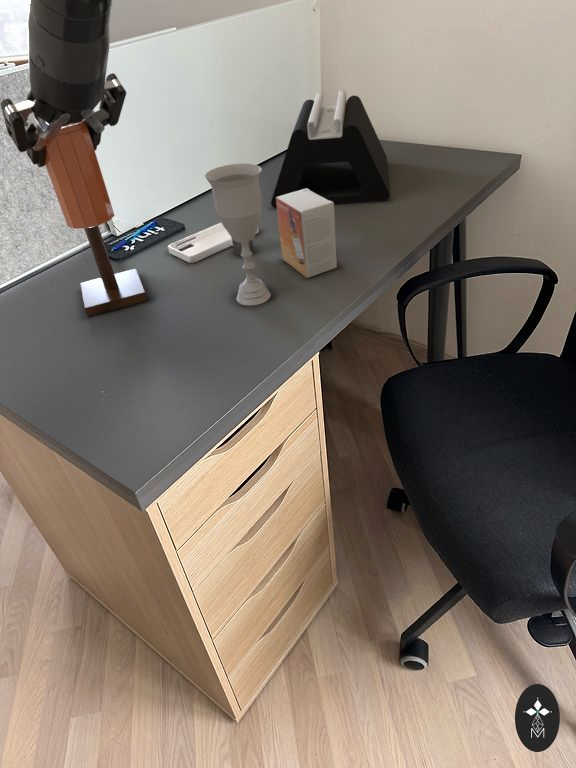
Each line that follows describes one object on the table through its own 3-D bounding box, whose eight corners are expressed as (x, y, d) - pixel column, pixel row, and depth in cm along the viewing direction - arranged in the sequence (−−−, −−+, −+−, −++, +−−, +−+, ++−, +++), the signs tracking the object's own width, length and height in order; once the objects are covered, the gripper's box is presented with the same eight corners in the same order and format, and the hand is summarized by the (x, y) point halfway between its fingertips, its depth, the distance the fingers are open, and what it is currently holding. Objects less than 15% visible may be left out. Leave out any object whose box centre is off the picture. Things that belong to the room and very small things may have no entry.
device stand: (386, 162, 124) (386, 86, 115) (389, 200, 106) (389, 114, 97) (285, 169, 127) (277, 96, 118) (271, 208, 110) (261, 126, 101)
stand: (87, 317, 84) (60, 244, 77) (82, 291, 91) (57, 222, 83) (147, 300, 86) (126, 228, 79) (138, 276, 93) (118, 208, 85)
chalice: (221, 306, 82) (196, 181, 71) (238, 284, 87) (217, 163, 76) (269, 310, 80) (250, 181, 69) (284, 286, 85) (268, 163, 73)
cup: (68, 232, 73) (32, 134, 66) (66, 217, 78) (32, 123, 70) (116, 221, 74) (86, 123, 67) (111, 206, 79) (82, 114, 72)
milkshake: (225, 260, 94) (213, 201, 88) (235, 246, 98) (224, 188, 92) (251, 260, 93) (241, 200, 86) (260, 246, 97) (251, 188, 90)
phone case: (191, 264, 94) (260, 232, 101) (190, 256, 93) (259, 225, 100) (168, 252, 99) (235, 223, 106) (166, 245, 98) (234, 216, 105)
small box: (282, 260, 91) (274, 196, 85) (312, 250, 93) (306, 186, 87) (306, 279, 86) (299, 211, 79) (338, 268, 87) (334, 201, 81)
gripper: (113, 7, 61) (99, 114, 75) (-23, 31, 54) (-8, 143, 69) (150, 66, 60) (129, 161, 75) (18, 97, 54) (24, 195, 69)
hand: (64, 152), depth 72 cm, fingers closed on cup, 6 cm apart
